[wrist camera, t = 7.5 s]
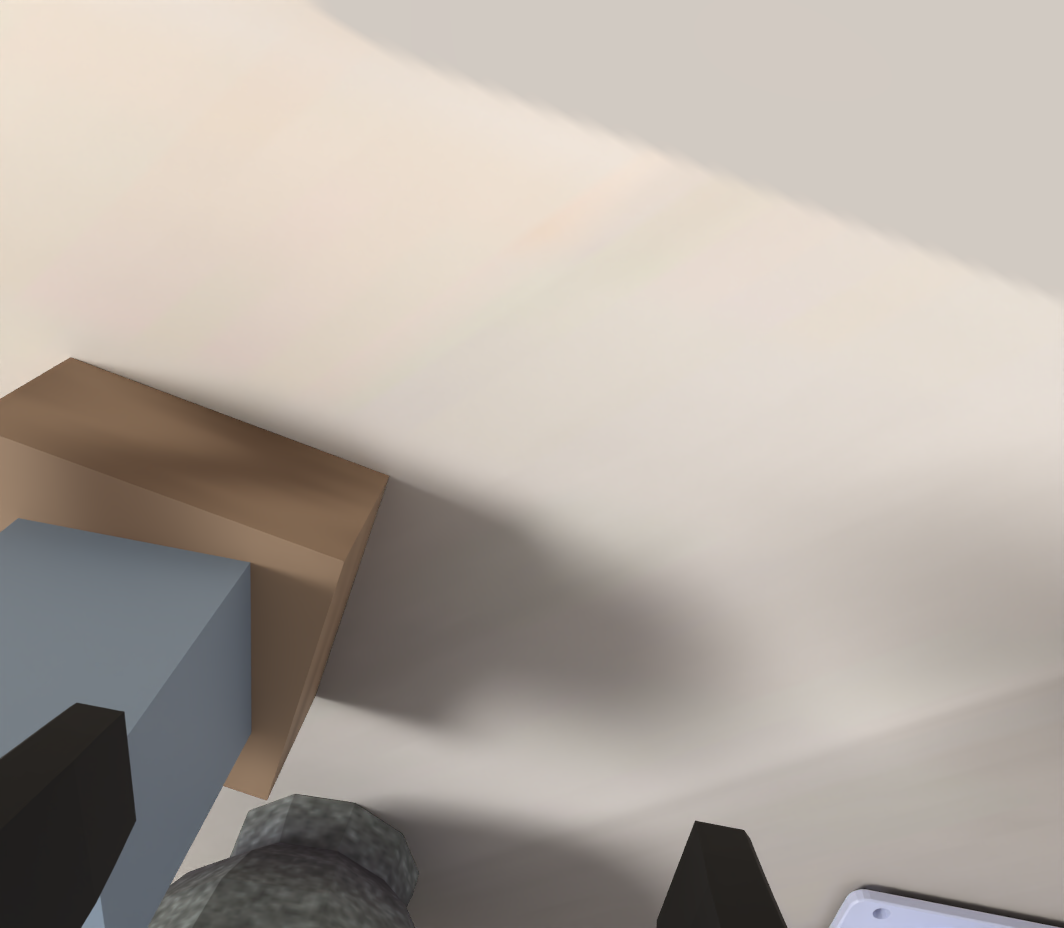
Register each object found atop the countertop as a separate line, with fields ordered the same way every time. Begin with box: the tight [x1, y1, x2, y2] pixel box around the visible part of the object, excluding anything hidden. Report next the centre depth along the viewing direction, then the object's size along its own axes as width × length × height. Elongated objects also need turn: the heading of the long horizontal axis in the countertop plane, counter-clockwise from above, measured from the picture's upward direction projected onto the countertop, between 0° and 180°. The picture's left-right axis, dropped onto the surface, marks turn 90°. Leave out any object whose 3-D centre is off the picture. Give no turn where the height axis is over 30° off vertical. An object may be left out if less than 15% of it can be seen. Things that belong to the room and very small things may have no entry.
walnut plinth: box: [0, 357, 389, 800], centre depth 20 cm, size 8×8×4 cm
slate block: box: [0, 518, 251, 928], centre depth 16 cm, size 5×5×6 cm
